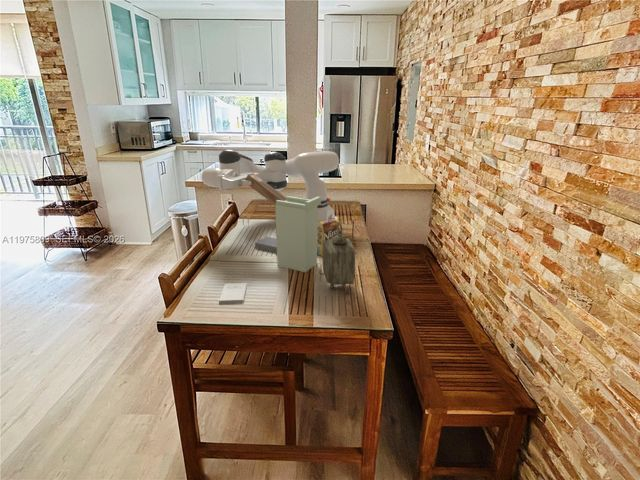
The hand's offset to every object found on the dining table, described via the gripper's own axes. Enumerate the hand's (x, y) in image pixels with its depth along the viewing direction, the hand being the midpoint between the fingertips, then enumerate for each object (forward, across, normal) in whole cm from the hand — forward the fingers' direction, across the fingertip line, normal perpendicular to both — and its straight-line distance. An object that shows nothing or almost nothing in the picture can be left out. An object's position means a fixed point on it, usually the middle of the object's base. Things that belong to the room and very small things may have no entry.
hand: (255, 181), depth 164 cm
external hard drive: (+19, +42, -32) cm, 56 cm away
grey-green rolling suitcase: (+49, +20, -32) cm, 62 cm away
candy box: (+32, -7, -31) cm, 45 cm away
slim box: (+5, 0, -6) cm, 8 cm away
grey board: (+14, -1, -31) cm, 33 cm away
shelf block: (+26, +10, -31) cm, 42 cm away
